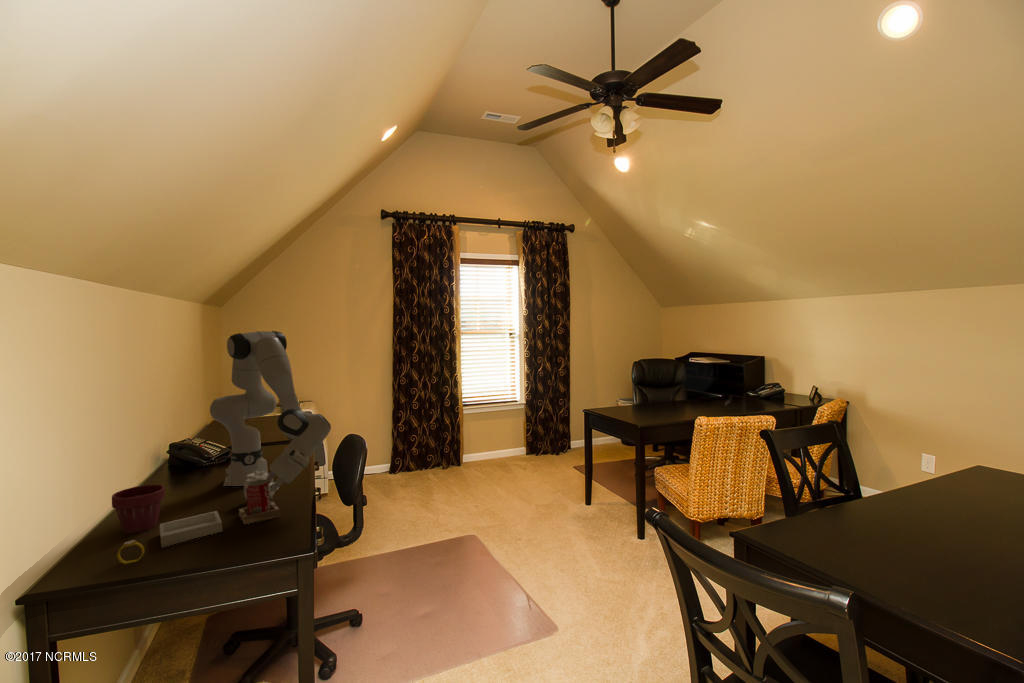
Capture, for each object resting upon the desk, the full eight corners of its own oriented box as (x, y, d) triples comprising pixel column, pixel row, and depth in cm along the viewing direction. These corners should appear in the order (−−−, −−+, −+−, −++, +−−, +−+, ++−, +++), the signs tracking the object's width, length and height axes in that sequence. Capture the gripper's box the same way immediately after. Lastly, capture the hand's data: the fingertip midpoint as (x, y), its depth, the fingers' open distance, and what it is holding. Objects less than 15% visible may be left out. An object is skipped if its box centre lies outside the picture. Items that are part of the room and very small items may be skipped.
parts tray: (160, 534, 153) (159, 524, 153) (217, 520, 163) (217, 510, 163) (161, 548, 143) (160, 536, 142) (222, 532, 152) (221, 521, 152)
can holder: (239, 515, 166) (238, 509, 166) (273, 507, 173) (272, 501, 173) (244, 525, 158) (244, 518, 158) (279, 516, 164) (279, 509, 164)
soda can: (267, 510, 170) (265, 478, 170) (273, 515, 165) (271, 482, 165) (245, 516, 165) (243, 483, 165) (251, 521, 160) (249, 487, 160)
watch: (117, 567, 132) (114, 547, 131) (120, 563, 134) (117, 543, 134) (143, 560, 134) (140, 540, 134) (146, 556, 137) (143, 537, 137)
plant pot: (174, 523, 162) (172, 486, 161) (125, 540, 149) (123, 500, 149) (154, 516, 169) (152, 481, 168) (105, 532, 156) (103, 494, 156)
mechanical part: (285, 498, 183) (283, 468, 183) (254, 508, 173) (252, 476, 173) (269, 493, 189) (268, 464, 189) (239, 503, 179) (237, 472, 179)
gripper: (282, 444, 180) (255, 475, 174) (296, 454, 164) (267, 488, 158) (295, 454, 183) (269, 484, 177) (310, 464, 167) (282, 498, 161)
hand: (268, 486), depth 167 cm, fingers open, 8 cm apart
